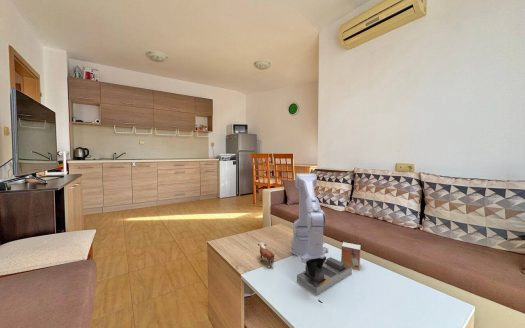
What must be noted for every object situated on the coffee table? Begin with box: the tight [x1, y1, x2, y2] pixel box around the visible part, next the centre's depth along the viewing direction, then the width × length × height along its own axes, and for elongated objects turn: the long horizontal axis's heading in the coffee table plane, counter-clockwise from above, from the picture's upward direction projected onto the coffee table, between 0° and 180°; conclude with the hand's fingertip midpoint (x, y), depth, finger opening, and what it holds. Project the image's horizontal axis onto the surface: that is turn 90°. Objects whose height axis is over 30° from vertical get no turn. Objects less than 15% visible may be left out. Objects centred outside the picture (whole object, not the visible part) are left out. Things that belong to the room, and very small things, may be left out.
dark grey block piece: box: [304, 264, 324, 284], centre depth 85 cm, size 7×3×5 cm, turn 37°
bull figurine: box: [257, 242, 275, 269], centre depth 102 cm, size 4×13×8 cm, turn 25°
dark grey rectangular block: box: [325, 257, 344, 272], centre depth 93 cm, size 7×3×5 cm, turn 37°
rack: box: [296, 257, 353, 297], centre depth 89 cm, size 10×24×4 cm, turn 127°
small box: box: [340, 241, 362, 271], centre depth 99 cm, size 8×6×10 cm
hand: (314, 274), depth 85 cm, fingers closed on dark grey block piece, 3 cm apart
